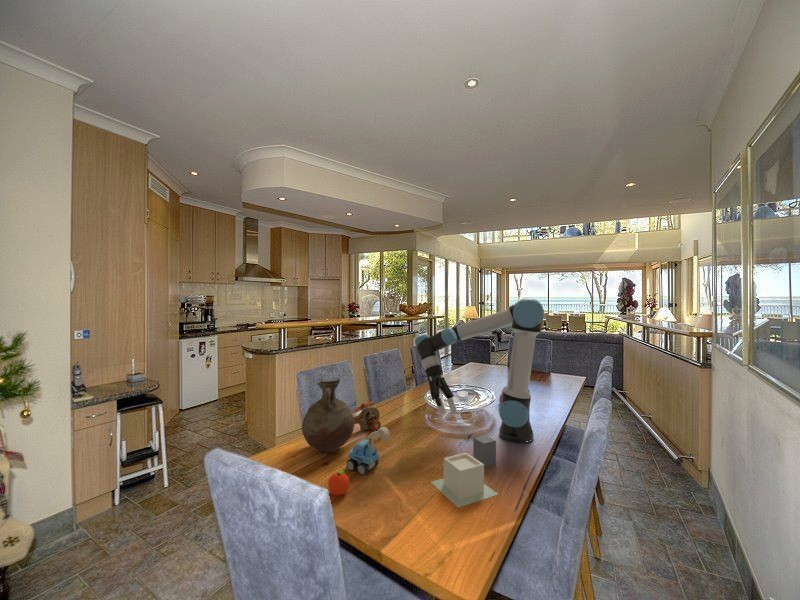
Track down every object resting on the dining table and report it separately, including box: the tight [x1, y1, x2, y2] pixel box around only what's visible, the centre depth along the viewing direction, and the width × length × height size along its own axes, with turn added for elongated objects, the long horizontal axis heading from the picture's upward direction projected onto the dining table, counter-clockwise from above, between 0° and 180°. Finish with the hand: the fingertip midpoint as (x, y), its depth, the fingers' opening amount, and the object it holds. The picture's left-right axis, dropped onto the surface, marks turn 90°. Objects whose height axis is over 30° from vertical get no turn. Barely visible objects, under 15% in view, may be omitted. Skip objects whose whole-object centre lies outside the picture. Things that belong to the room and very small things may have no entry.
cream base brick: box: [443, 452, 485, 499], centre depth 115 cm, size 10×10×9 cm
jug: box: [301, 377, 355, 455], centre depth 146 cm, size 22×22×30 cm
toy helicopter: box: [352, 400, 382, 432], centre depth 166 cm, size 8×21×14 cm, turn 123°
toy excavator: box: [346, 426, 391, 476], centre depth 129 cm, size 9×17×17 cm, turn 58°
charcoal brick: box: [472, 434, 497, 468], centre depth 133 cm, size 6×6×10 cm
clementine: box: [327, 470, 350, 497], centre depth 114 cm, size 8×7×7 cm
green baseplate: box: [430, 477, 499, 508], centre depth 115 cm, size 16×16×1 cm
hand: (449, 413), depth 150 cm, fingers open, 13 cm apart
